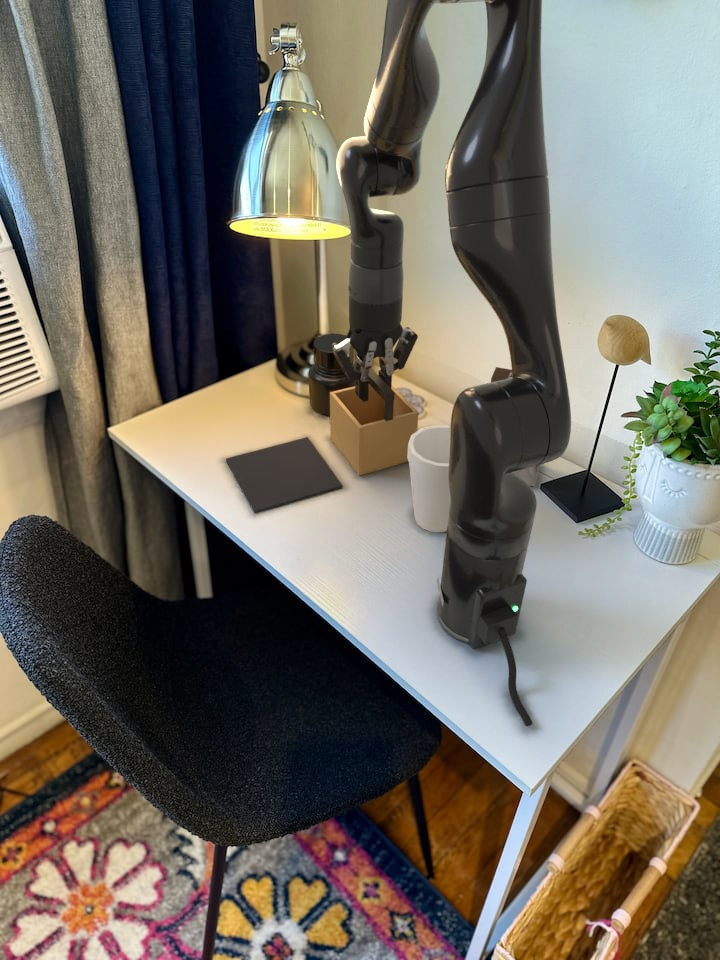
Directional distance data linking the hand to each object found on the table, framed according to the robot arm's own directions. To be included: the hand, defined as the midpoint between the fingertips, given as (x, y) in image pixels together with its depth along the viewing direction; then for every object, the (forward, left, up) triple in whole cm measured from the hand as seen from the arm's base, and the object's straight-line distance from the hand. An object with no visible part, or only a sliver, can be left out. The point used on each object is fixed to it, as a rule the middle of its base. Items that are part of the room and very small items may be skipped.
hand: (373, 395), depth 111 cm
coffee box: (-14, -17, -10) cm, 24 cm away
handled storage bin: (0, 0, -10) cm, 10 cm away
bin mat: (0, +16, -10) cm, 19 cm away
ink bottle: (+15, 0, -10) cm, 18 cm away
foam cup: (-19, -1, -10) cm, 22 cm away
